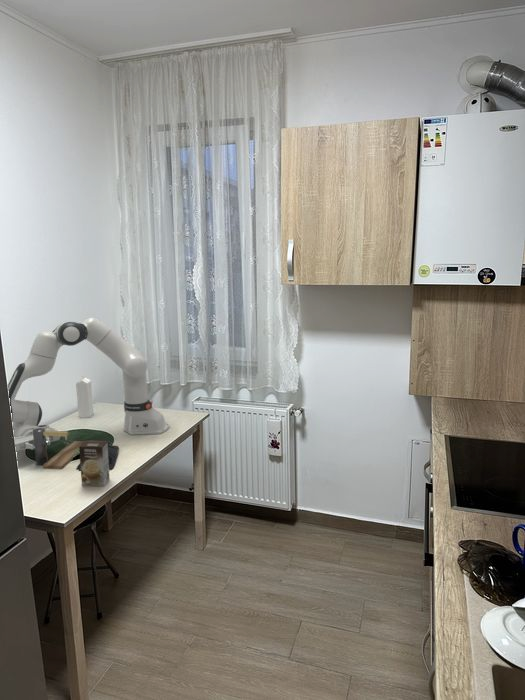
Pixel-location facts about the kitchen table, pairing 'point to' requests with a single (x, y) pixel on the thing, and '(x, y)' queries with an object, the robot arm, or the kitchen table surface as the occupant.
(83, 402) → the milk
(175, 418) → the kitchen table surface
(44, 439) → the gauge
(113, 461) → the dark slate chunk
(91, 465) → the coffee box
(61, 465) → the board
